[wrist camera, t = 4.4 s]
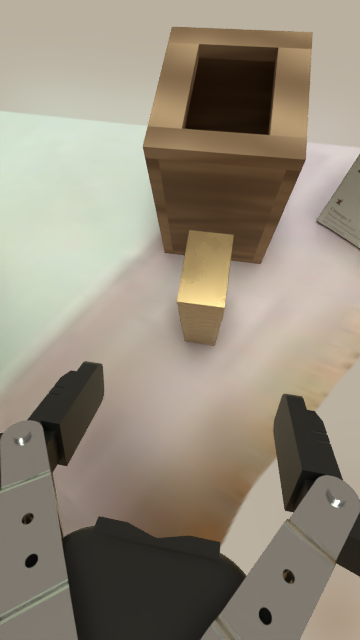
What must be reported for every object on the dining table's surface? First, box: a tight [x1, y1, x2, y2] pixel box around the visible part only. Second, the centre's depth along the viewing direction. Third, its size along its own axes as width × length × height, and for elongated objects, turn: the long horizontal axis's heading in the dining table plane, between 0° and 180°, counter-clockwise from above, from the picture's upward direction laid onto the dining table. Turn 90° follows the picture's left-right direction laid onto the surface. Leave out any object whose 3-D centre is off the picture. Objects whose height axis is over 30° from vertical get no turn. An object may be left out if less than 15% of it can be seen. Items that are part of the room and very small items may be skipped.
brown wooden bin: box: [143, 27, 312, 264], centre depth 24 cm, size 10×9×12 cm
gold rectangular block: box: [177, 230, 234, 345], centre depth 22 cm, size 4×3×10 cm, turn 171°
